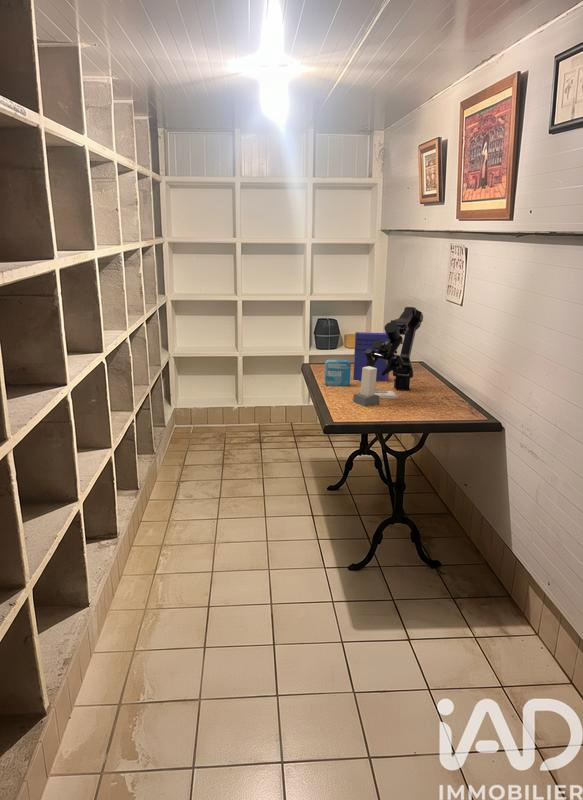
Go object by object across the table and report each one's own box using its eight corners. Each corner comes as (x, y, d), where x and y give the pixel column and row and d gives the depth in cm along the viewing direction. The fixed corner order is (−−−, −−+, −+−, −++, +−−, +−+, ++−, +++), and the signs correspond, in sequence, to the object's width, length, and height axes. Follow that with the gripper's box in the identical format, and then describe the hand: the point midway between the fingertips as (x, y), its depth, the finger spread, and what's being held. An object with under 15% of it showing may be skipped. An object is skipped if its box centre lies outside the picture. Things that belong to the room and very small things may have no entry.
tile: (392, 393, 281) (392, 390, 281) (397, 398, 272) (397, 395, 272) (366, 393, 280) (367, 390, 279) (371, 398, 271) (371, 395, 271)
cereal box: (387, 379, 309) (390, 332, 303) (388, 381, 305) (391, 334, 298) (353, 378, 310) (355, 331, 303) (353, 380, 305) (356, 333, 299)
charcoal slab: (367, 400, 269) (367, 391, 268) (379, 404, 262) (379, 395, 261) (353, 402, 265) (353, 394, 264) (364, 407, 258) (365, 398, 257)
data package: (325, 385, 293) (326, 361, 290) (324, 383, 297) (325, 359, 294) (349, 386, 294) (351, 361, 291) (348, 383, 298) (349, 359, 295)
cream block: (366, 392, 266) (369, 366, 262) (374, 395, 263) (377, 368, 259) (360, 394, 263) (362, 367, 259) (367, 396, 260) (370, 369, 256)
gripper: (367, 331, 269) (349, 358, 265) (401, 336, 255) (382, 365, 251) (378, 346, 276) (361, 373, 272) (411, 353, 262) (393, 381, 258)
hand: (373, 373), depth 263 cm, fingers open, 9 cm apart
